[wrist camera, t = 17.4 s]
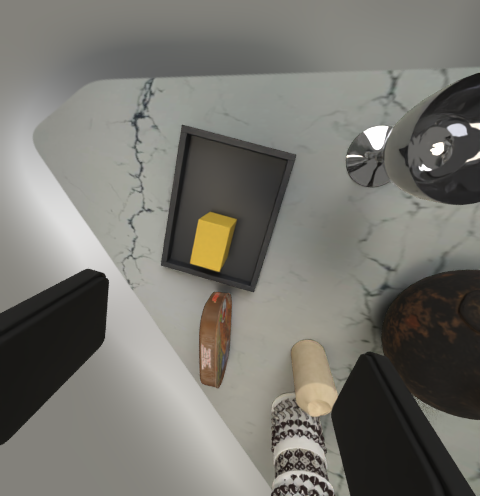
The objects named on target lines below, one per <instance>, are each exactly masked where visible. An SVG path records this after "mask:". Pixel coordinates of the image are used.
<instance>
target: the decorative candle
mask: <svg viewBox="0 0 480 496" xmlns="http://www.w3.org/2000/svg"><path fill="white" fill-rule="evenodd" d="M272 415H273V416H274V417H273V418H272V419H271V420H272V422H271V423H272V424H273V425H274V426H272V427H271V429H272V430H273V431H272V436H273V437H272V452H273V453H274V466H275V480H274V481H273V485H272V493H271V496H335V493H334V490H333V487H332V485H331V484H330V483H329V479H328V474H327V468H328V467H327V462H326V455H325V454H326V453H327V449H326V447H324V446H325V443H324V441H325V440H324V437H323V436H322V430H323V428H322V425H321V422H320V421H321V418H320V416H318V417H312V416H310V415H309V414H308V413H306V412H305V411H304V410H302V409H301V408H300V407H299V406H298V404H297V402H296V396H295V392H292V393H284V394H282V395H280V396H278V397H277V398H276V399H275V400H274V402H273V404H272Z"/></svg>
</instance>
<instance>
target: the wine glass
mask: <svg viewBox="0 0 480 496" xmlns="http://www.w3.org/2000/svg"><path fill="white" fill-rule="evenodd" d="M346 167H347V171H348V173H349V175H350V176H351V178H352V179H353V180H354V181H355V182H357V183H358V184H360V185H363V186H367V187H376V186H381V185H384V184H386V183H388V182H390V181H391V182H392V183H393V184H394V185H395V186H397V187H398V188H399V189H401V190H403V191H404V192H406V193H408V194H410V195H412V196H415V197H417V198H420V199H424V200H428V201H433V202H438V203H444V204H452V205H465V204H472V203H477V202H480V73H477V74H474V75H471V76H469V77H466V78H463V79H461V80H458V81H456V82H454V83H452V84H450V85H448V86H446V87H444V88H443V89H441V90H439V91H437V92H435V93H434V94H432V95H430V96H428V97H427V98H425V99H424V100H422V101H421V102H420V103H418V104H417V105H416V106H414V107H413V108H412V109H411V110H409V111H408V112H407V113H406V114H405V115H404V116H403V117H402V118H401V119H400V120H399V121H398V122H397V123H396V124H395V126H394V127H393V128H392V127H388V126H376V127H372V128H369V129H367V130H365V131H363V132H362V133H361V134H359V135H358V136H357V137H356V138H355V139H354V141H353V142H352V144H351V145H350V147H349V149H348V152H347V157H346Z"/></svg>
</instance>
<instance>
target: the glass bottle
mask: <svg viewBox="0 0 480 496" xmlns="http://www.w3.org/2000/svg"><path fill="white" fill-rule="evenodd" d="M381 335H382V336H381V339H382V347H383V352H384V356H386V357H388V358H389V360H390V361H391V363H392V364H393V366H394V367H395V369H396V371H397V372H398V374H399V375H400V377H401V378H402V380H403V382H404V383H405V385H406V386H407V388H408V389H409V391H410V393H412V394H413V395H414V396H415V397H417V398H418V399H420V400H421V401H423V402H424V403H426V404H428V405H430V406H431V407H433V408H436V409H438V410H440V411H443V412H445V413H448V414H451V415H454V416H458V417H462V418H468V419H474V420H480V270H456V271H448V272H442V273H439V274H435V275H432V276H429V277H426V278H424V279H422V280H420V281H418V282H416V283H414V284H412V285H411V286H409V287H408V288H407V289H405V290H404V291H403V292H402V293H401V294H400V295H399V296H398V297H397V298H396V299H395V300H394V301H393V303H392V304H391V306H390V307H389V309H388V311H387V313H386V315H385V318H384V321H383V325H382V334H381Z"/></svg>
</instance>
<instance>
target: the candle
mask: <svg viewBox="0 0 480 496" xmlns="http://www.w3.org/2000/svg"><path fill="white" fill-rule="evenodd" d="M291 359H292V368H293V377H294V387H295V396H296V402H297V404H298V406H299V407H300V408H301V409H302V410H304V411H305V412H306V413H308V414H309V415H310V416H312V417H318V416H322V415H326V414H329V413H330V412H331V411H332V407H333V405H334V403H335V401H336V399H337V397H338V394H337V391H336V387H335V384H334V381H333V377H332V374H331V371H330V367H329V364H328V361H327V357H326V354H325V351H324V349H323V347H322V346H321V345H320V344H319V343H317V342H316V341H313V340H302V341H299V342H298V343H296V344H295V345H294V346H293V348H292V351H291Z"/></svg>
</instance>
